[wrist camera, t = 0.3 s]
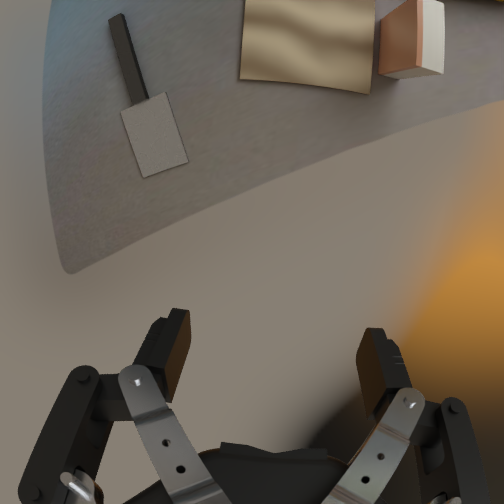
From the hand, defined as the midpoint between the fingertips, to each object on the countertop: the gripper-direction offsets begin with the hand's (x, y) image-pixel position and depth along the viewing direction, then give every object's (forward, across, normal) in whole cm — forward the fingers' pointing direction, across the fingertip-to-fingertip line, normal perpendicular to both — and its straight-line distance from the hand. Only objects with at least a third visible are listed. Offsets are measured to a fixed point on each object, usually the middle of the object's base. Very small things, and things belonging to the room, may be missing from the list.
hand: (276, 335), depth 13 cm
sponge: (+29, -13, -19) cm, 37 cm away
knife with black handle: (+29, +19, -11) cm, 37 cm away
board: (+29, -2, -19) cm, 35 cm away
